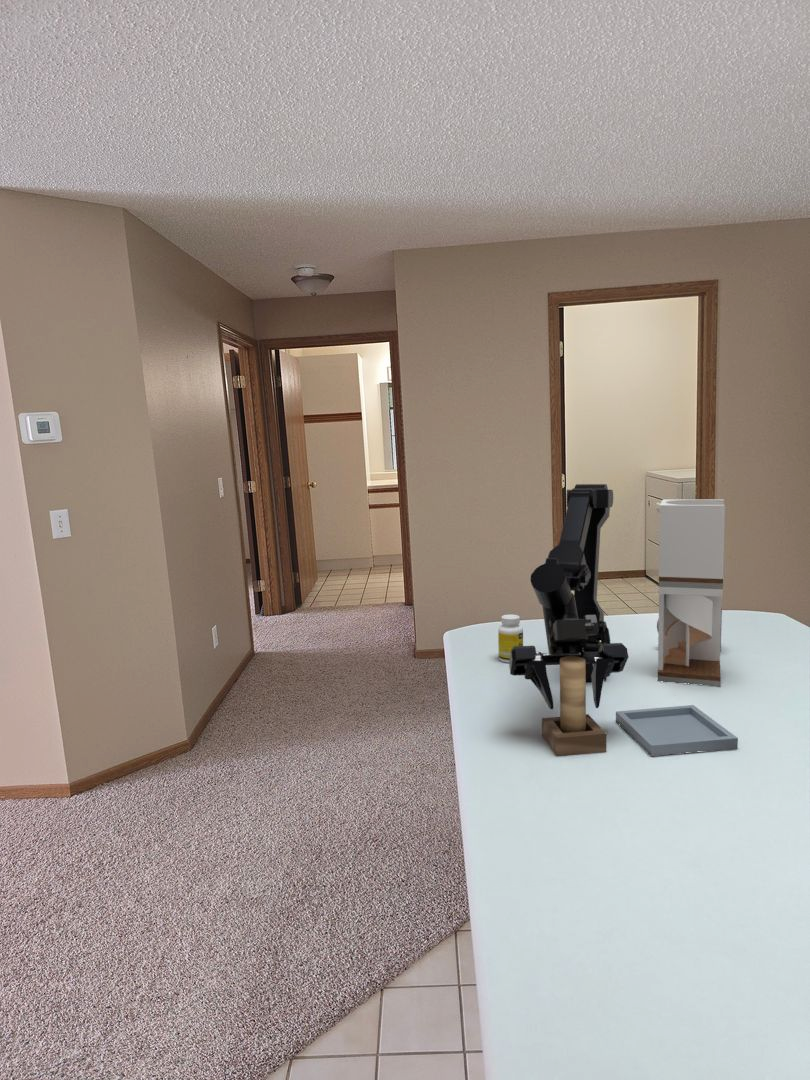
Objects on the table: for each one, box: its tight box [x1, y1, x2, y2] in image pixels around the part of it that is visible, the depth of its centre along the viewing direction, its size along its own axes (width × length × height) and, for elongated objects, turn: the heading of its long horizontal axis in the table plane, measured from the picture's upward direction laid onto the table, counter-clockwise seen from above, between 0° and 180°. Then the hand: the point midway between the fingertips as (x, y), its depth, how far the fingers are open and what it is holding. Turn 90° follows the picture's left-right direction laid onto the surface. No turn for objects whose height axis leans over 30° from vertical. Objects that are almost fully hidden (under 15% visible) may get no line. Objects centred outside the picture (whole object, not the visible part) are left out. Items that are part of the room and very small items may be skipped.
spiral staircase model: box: [657, 498, 726, 688], centre depth 145 cm, size 11×11×35 cm
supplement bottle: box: [497, 614, 524, 664], centre depth 162 cm, size 5×5×10 cm
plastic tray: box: [615, 704, 739, 757], centre depth 121 cm, size 14×14×2 cm
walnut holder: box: [541, 713, 607, 757], centre depth 119 cm, size 8×8×3 cm
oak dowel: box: [559, 656, 587, 733], centre depth 118 cm, size 4×4×14 cm
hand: (574, 707), depth 117 cm, fingers open, 7 cm apart
